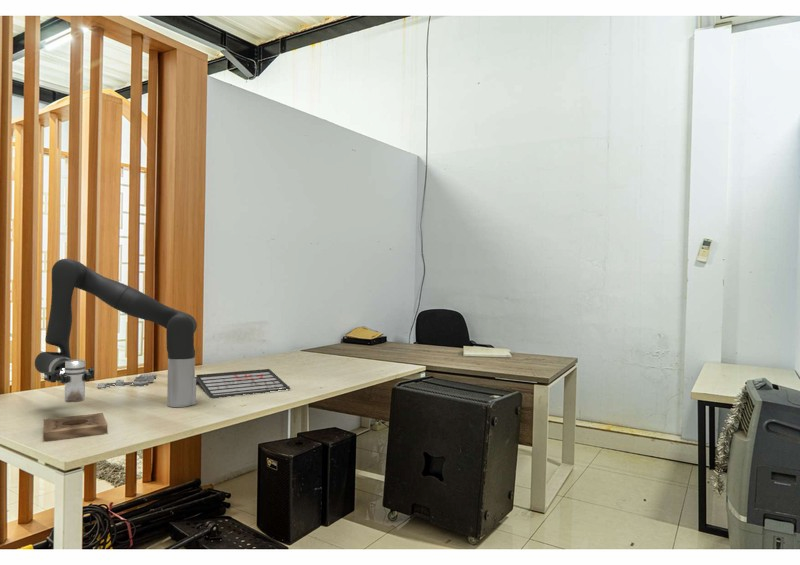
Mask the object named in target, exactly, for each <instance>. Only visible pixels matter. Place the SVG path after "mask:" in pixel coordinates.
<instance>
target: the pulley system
mask: <svg viewBox="0 0 800 565" xmlns="http://www.w3.org/2000/svg"><path fill="white" fill-rule="evenodd" d="M155 378H157V373H140V375H139V376H136V377H134V378H133V379H134V380H133V381H128V382H127V381H125V380H124V379H117V380H115V382H100V383H98V384H97V386H96V388H98V389H97V390H102V389H101V388H104V389H107V388H106V387H109V388H111V387H110V386H114V387H116V386H122V387H124V386H123V385H130V386H129V387H136V386H139V387H145V386H144V385H146V386H148V385H149V382H151V383H152V382H154V381H155ZM132 383H133V384H132ZM112 384H115V385H116V386H115V385H112ZM147 384H148V385H147ZM105 386H106V387H105Z"/></svg>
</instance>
